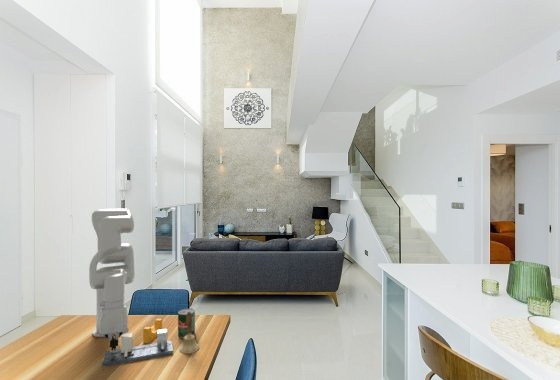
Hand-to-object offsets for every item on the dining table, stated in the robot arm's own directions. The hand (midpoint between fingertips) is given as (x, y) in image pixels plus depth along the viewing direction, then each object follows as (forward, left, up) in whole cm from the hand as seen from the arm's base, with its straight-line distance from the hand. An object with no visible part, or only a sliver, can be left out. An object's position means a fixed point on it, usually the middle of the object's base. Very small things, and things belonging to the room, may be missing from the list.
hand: (114, 348), depth 130 cm
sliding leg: (+2, +5, -2) cm, 6 cm away
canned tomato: (-11, +30, -4) cm, 32 cm away
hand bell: (+5, +30, -4) cm, 30 cm away
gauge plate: (+2, +10, -4) cm, 10 cm away
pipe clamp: (-14, +14, -4) cm, 21 cm away
